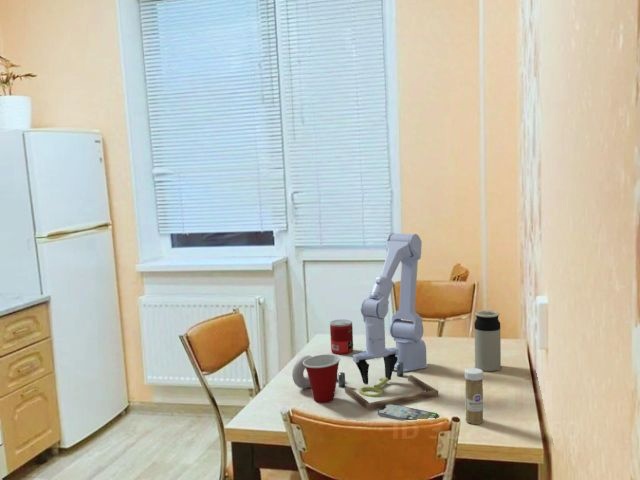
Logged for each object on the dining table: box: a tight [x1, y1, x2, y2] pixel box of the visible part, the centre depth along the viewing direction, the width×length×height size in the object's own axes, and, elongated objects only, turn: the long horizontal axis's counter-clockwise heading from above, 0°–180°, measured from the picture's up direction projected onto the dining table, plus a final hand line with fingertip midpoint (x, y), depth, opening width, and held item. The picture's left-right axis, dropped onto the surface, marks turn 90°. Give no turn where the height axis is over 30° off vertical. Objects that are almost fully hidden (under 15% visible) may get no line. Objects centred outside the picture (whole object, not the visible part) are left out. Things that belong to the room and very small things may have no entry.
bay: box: [344, 374, 439, 411], centre depth 177 cm, size 22×15×2 cm
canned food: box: [329, 319, 354, 356], centre depth 219 cm, size 8×8×11 cm
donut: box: [291, 354, 313, 389], centre depth 185 cm, size 10×4×10 cm, turn 135°
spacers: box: [337, 362, 404, 388], centre depth 191 cm, size 22×8×4 cm, turn 111°
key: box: [358, 377, 390, 398], centre depth 182 cm, size 7×12×2 cm, turn 162°
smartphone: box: [377, 404, 439, 421], centre depth 162 cm, size 7×1×15 cm
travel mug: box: [473, 310, 502, 372], centre depth 195 cm, size 8×8×18 cm
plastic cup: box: [303, 353, 341, 404], centre depth 175 cm, size 11×11×12 cm
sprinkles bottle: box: [464, 367, 484, 425], centre depth 155 cm, size 5×5×14 cm
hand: (376, 381), depth 185 cm, fingers open, 7 cm apart
